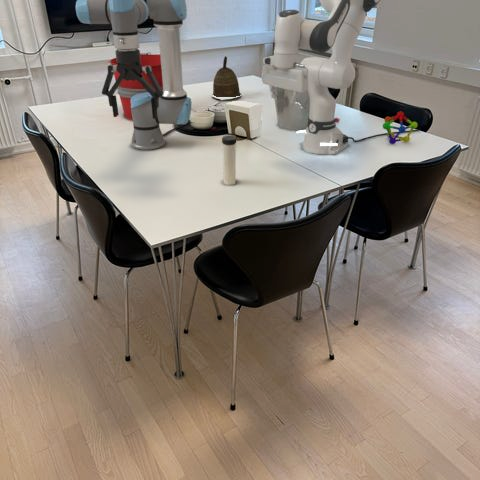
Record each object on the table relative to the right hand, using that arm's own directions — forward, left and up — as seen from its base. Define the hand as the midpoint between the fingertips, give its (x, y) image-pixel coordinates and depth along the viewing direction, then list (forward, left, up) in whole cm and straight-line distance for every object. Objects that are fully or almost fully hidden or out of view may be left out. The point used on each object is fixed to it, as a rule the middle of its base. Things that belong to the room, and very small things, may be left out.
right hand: (283, 100), depth 166 cm
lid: (+22, -6, -11) cm, 25 cm away
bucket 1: (-4, -105, -29) cm, 109 cm away
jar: (+22, -6, -29) cm, 37 cm away
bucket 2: (-52, -36, -29) cm, 69 cm away
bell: (-63, -104, -29) cm, 124 cm away
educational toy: (-66, +14, -29) cm, 74 cm away
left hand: (+51, -21, -1) cm, 55 cm away
